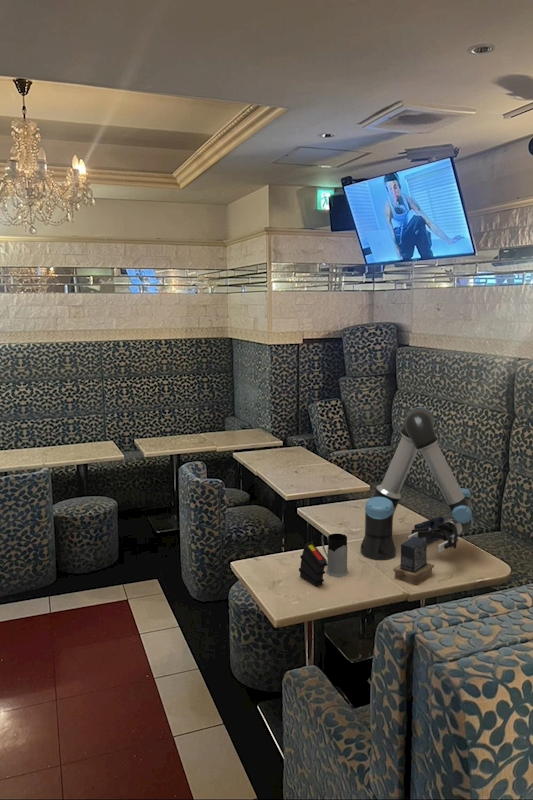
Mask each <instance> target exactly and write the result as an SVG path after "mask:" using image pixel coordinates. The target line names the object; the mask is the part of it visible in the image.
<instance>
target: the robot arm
mask: <svg viewBox="0 0 533 800" xmlns="http://www.w3.org/2000/svg"><path fill="white" fill-rule="evenodd" d="M434 424H435V417H434V415H433V413H432V412H431V411H430V410H429V409H428V408H425V407H423V406H417V407H414V408H412V409H410V410H409V411H408V413H407V414H406V418H405V420H404V423H403V425H402V427H401V429H400V432H399V433H400V435H401V438H400V441H399V443H398V446H397V447H396V449H395V452H394V454H393V457H392V459H391V461H390V464H389V466H388V468H387V471H386V473H385V475H384V477H383V479H382V481H381V484H378V485H376V487H375V489H374V491H373V494H372V496H371V497H370V498H369V499H367V500H366V502H365V506H364V510H365V511H364V512H365V513H364V514H365V519H364V521H365V522H364V537H363V539H362V542H361V544H360V551H359V552H360V554H361V555H362V556H364V557H366V558H368V559H372V560H378V561H379V560H381V561H382V560H384V561H385V560H391V559H392V558H393V559H394V557H396V554H397V548H396V545H395V541H394V538H393V527H394V526H393V525H394V523H393V521H394V515H395V511H396V509H397V507H398V505H399V504H400V503H399V502H400V500H401V498H402V496H401V493H400V492H401V490H402V487H403V486H404V485H403V484H404V483H405V480H406V479H407V476H408V474H409V472H410V469H411V467H412V466H413V462H414V461H415V458H416V456H417V454H418V451H420V454H421V455H422V457H423V459H424V462H425V463H426V465H427V467H428V469H429V471H430V473H431V475H432V477H433V479H434V481H435V482H436V484H437V486H438V488H439V490H440V492H441V494H442V496H443V497H444V500H445V501H446V503H447V506H448V508H449V510H450V512H451V518H450V519H448V520H446V521H444V523H442V524H440V525H439V526H438V528H437V529H431V527H427V528H420V529H411V534H410V535H408V536H407V540H409V539H410V538H412V537H418V538H421V537H431V538H439V539H440V540H442V541H443V542H441V543H440V544H438V548H437V550H438V551H437V552H438V553H441V552H443V551H445V550H447V549H451V548H453V549H455V550H456V549H457V547H458V544H457V543H458V542H459V536H460V535H462V534H464V533H465V532H469V530H470V529H472V528H473V525H474V519H473V516H472V515H473V514H472V513H473V512H472V507H471V499H472V496H471V494H472V493H471V491H470V489H468V488H463V487H462V488H461V487H460V485H459V483H458V481H457V480H456V478H455V476H454V473H453V472H452V470H451V467H450V466H449V464H448V462H447V460H446V458H445V455H444V454H443V452H442V450H441V448H440V445H439V444H438V442H439V439H438V437H437V435H436V432H435V428H434V427H435V426H434ZM433 534H434V536H433Z"/></svg>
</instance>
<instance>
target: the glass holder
mask: <svg viewBox="0 0 533 800" xmlns="http://www.w3.org/2000/svg"><path fill="white" fill-rule="evenodd" d="M324 536H326V537H327V550H326V548H325V543H324ZM321 546H322V549H323V552H324V554H325V556H326V558H327V564H328V565H327V566H326V568H327V569H326V572H325V574H327V575H328V576H330V577H332V576H333V578H342V577H343V576H344V577H346V576H348V575H349V571H348V536H347V535H346V534H343V533H331V534H327V533H323V534H322V535H321ZM347 574H348V575H347Z"/></svg>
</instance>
